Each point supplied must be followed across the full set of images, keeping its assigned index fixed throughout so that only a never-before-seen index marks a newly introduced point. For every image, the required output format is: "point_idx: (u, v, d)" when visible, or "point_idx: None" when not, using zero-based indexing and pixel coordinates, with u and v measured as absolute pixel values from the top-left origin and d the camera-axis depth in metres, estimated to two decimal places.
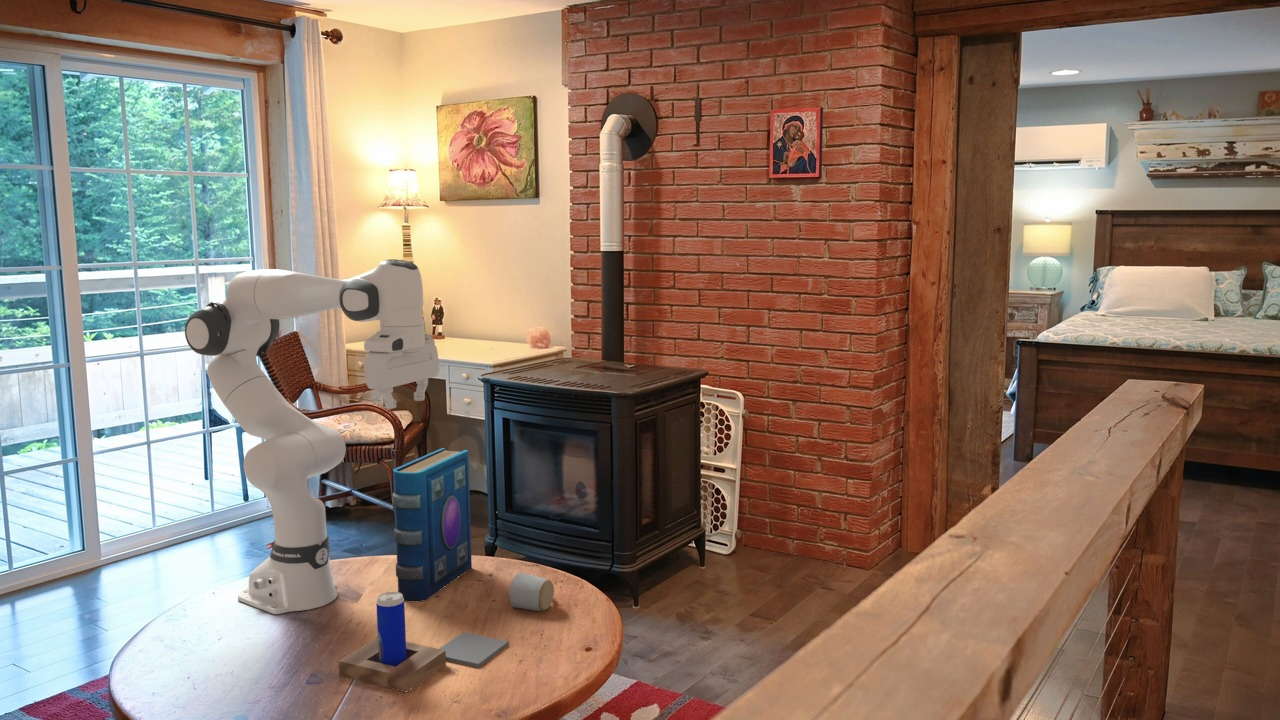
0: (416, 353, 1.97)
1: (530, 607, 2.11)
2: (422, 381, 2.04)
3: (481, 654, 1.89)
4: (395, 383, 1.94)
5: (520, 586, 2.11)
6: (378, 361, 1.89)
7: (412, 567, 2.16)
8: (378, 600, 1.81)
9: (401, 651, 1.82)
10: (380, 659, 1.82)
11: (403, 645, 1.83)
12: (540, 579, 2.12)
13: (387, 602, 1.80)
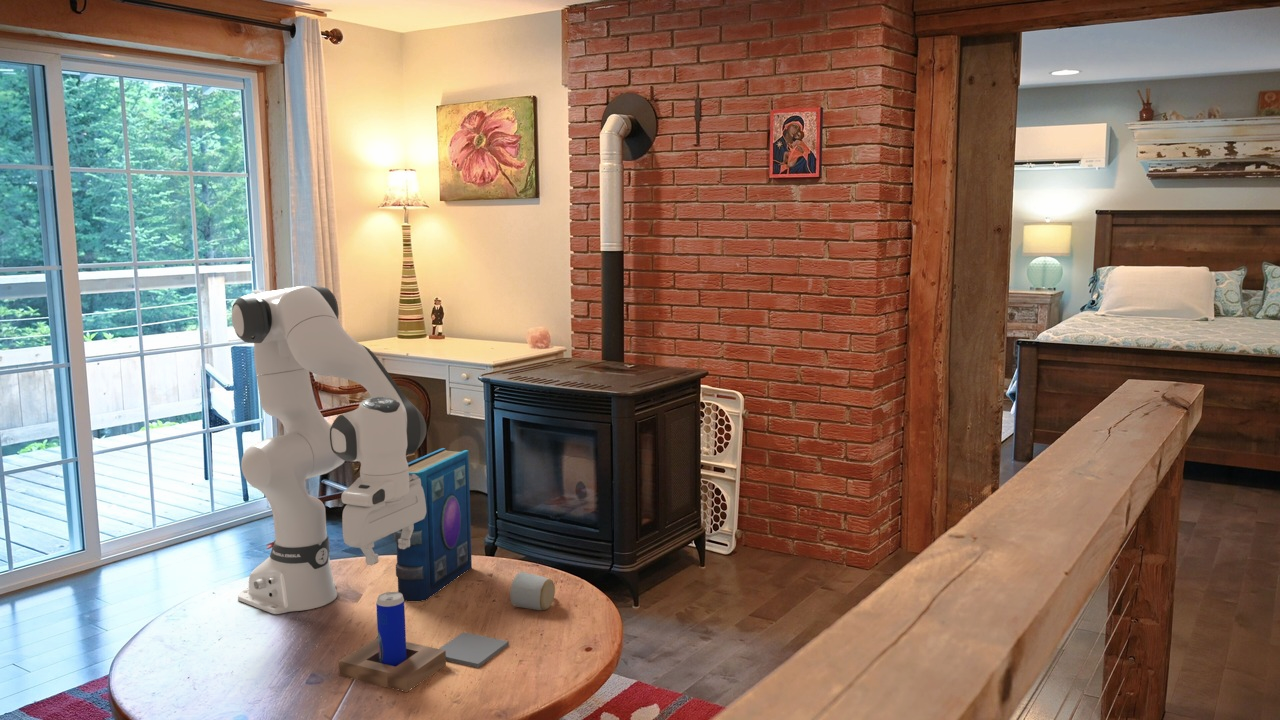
0: (400, 501, 1.79)
1: (531, 606, 2.11)
2: (407, 527, 1.85)
3: (481, 654, 1.89)
4: (376, 537, 1.75)
5: (521, 585, 2.11)
6: (357, 516, 1.71)
7: (412, 567, 2.16)
8: (378, 600, 1.81)
9: (401, 651, 1.82)
10: (380, 659, 1.82)
11: (403, 645, 1.83)
12: (541, 578, 2.12)
13: (387, 602, 1.80)
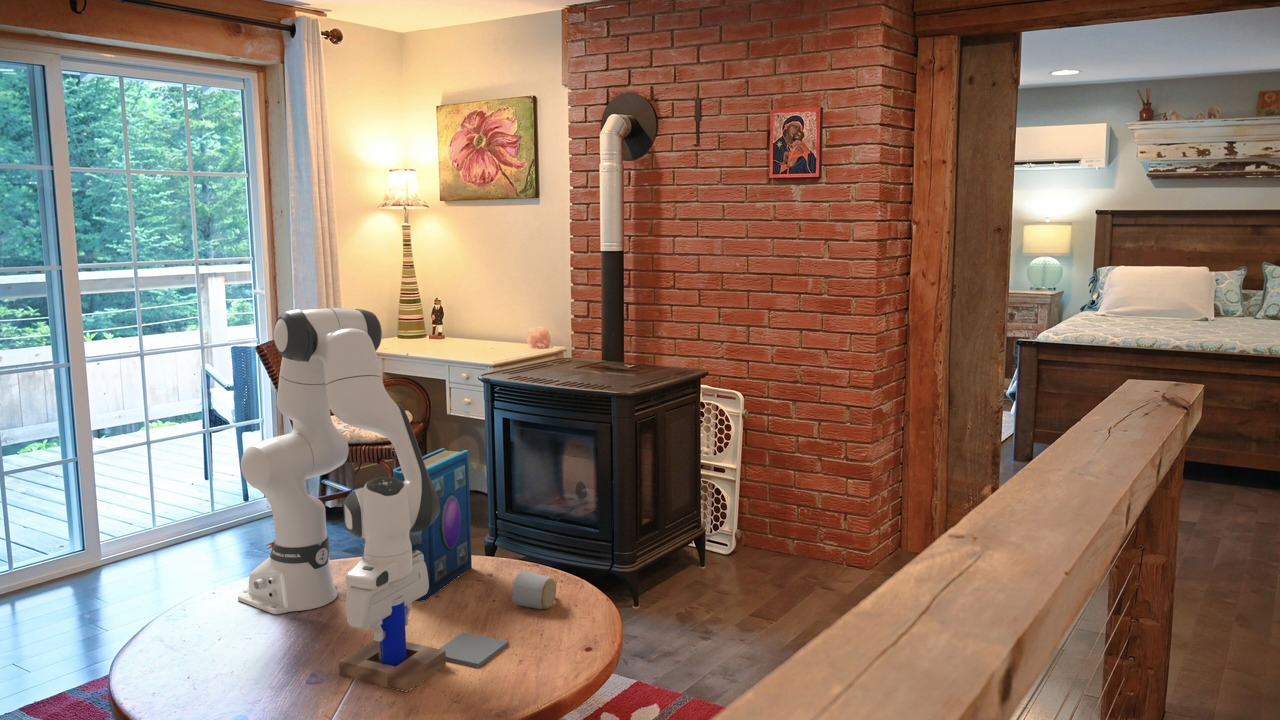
0: (403, 580, 1.81)
1: (533, 605, 2.12)
2: (405, 606, 1.86)
3: (481, 654, 1.89)
4: (380, 618, 1.77)
5: (523, 584, 2.12)
6: (361, 599, 1.73)
7: None
8: None
9: (401, 651, 1.82)
10: (380, 659, 1.82)
11: (403, 645, 1.83)
12: (543, 577, 2.13)
13: None
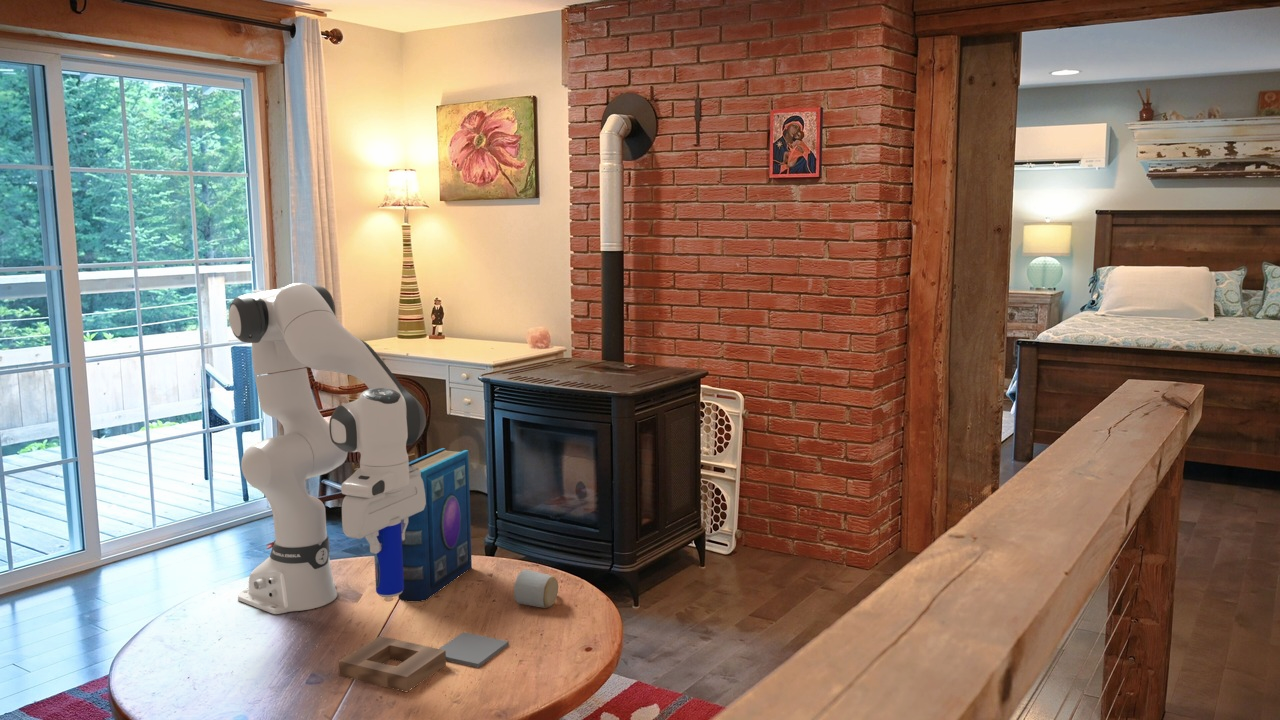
0: (399, 492, 1.78)
1: (535, 603, 2.13)
2: (402, 520, 1.84)
3: (481, 654, 1.89)
4: (376, 528, 1.75)
5: (525, 583, 2.13)
6: (357, 507, 1.71)
7: (412, 567, 2.16)
8: None
9: (398, 572, 1.80)
10: (377, 581, 1.80)
11: (400, 567, 1.81)
12: (545, 576, 2.14)
13: None
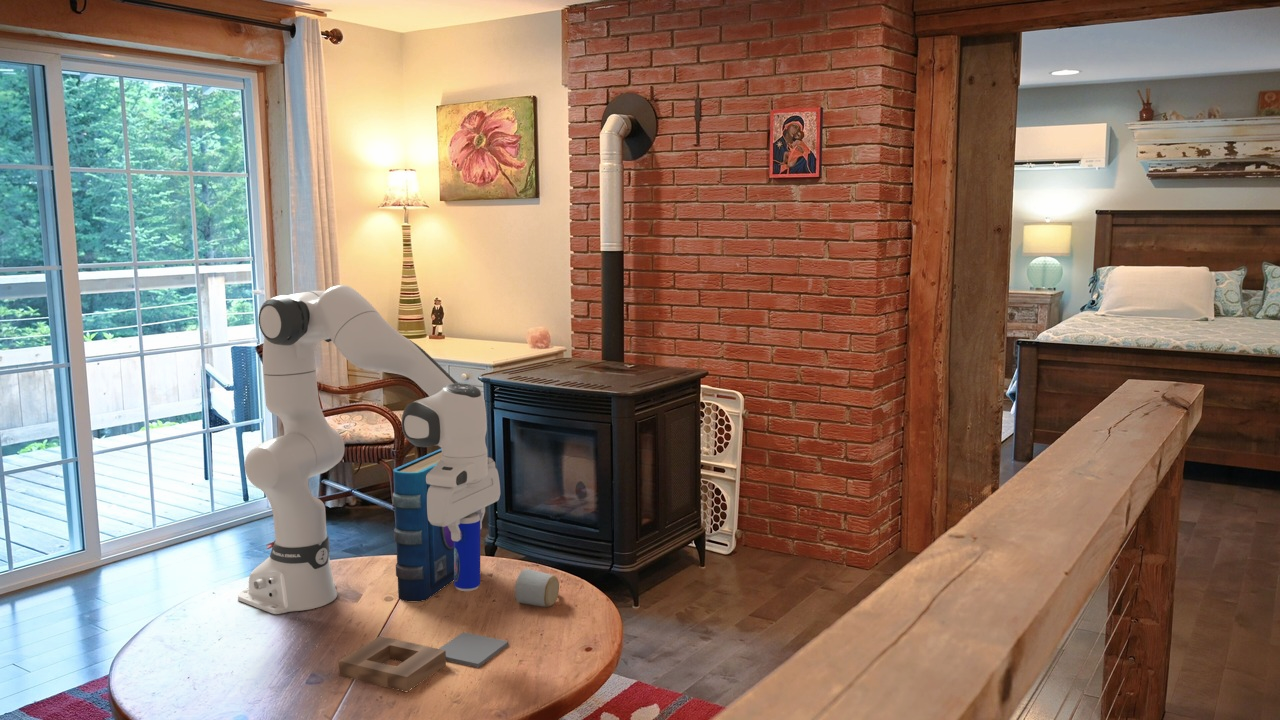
0: (479, 483, 1.87)
1: (536, 603, 2.13)
2: (479, 510, 1.92)
3: (481, 654, 1.89)
4: (458, 517, 1.83)
5: (526, 582, 2.13)
6: (442, 496, 1.79)
7: (412, 567, 2.16)
8: None
9: (476, 567, 1.89)
10: (456, 575, 1.89)
11: (478, 562, 1.89)
12: (546, 575, 2.14)
13: (466, 519, 1.86)
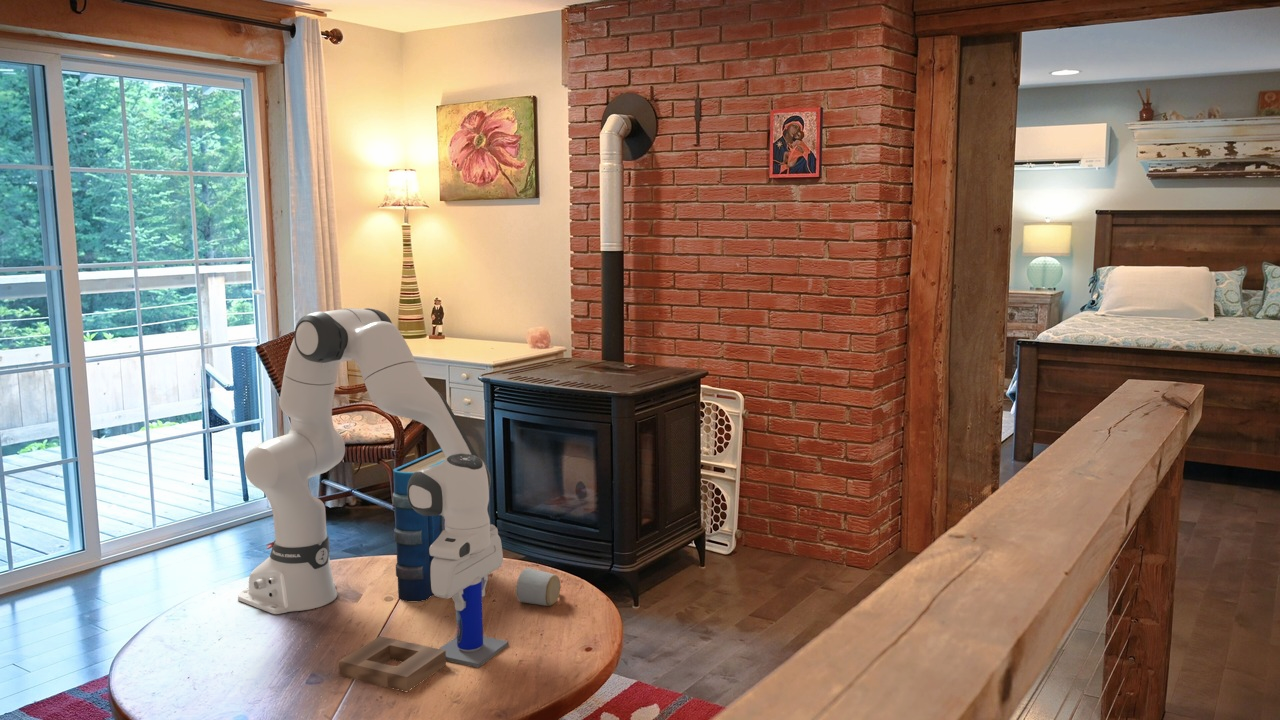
0: (482, 552, 1.89)
1: (537, 602, 2.14)
2: (482, 577, 1.94)
3: (481, 654, 1.89)
4: (461, 587, 1.85)
5: (527, 581, 2.14)
6: (445, 569, 1.81)
7: (412, 567, 2.16)
8: None
9: (479, 628, 1.91)
10: (459, 636, 1.90)
11: (481, 623, 1.91)
12: (547, 574, 2.15)
13: None
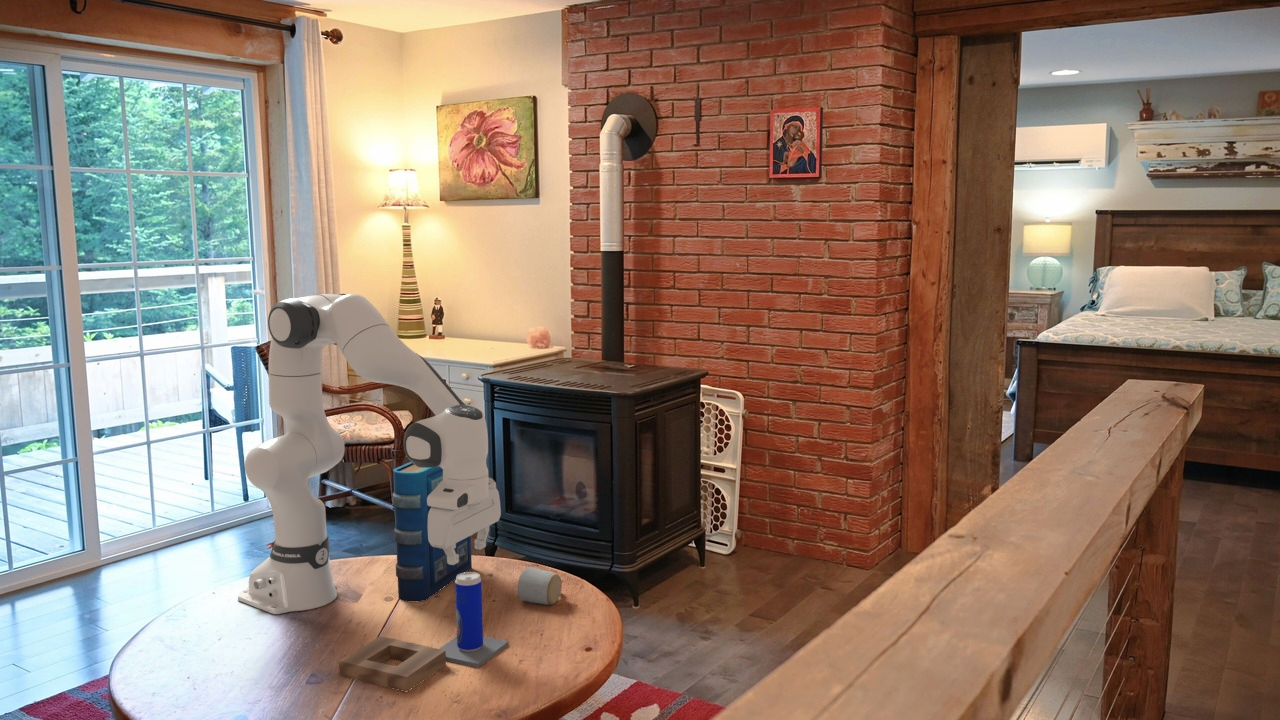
0: (480, 504, 1.87)
1: (538, 601, 2.14)
2: (483, 528, 1.94)
3: (481, 654, 1.89)
4: (458, 539, 1.84)
5: (528, 580, 2.14)
6: (442, 519, 1.79)
7: (412, 567, 2.16)
8: (457, 580, 1.89)
9: (479, 628, 1.91)
10: (459, 636, 1.90)
11: (481, 623, 1.91)
12: (548, 573, 2.15)
13: (467, 581, 1.88)
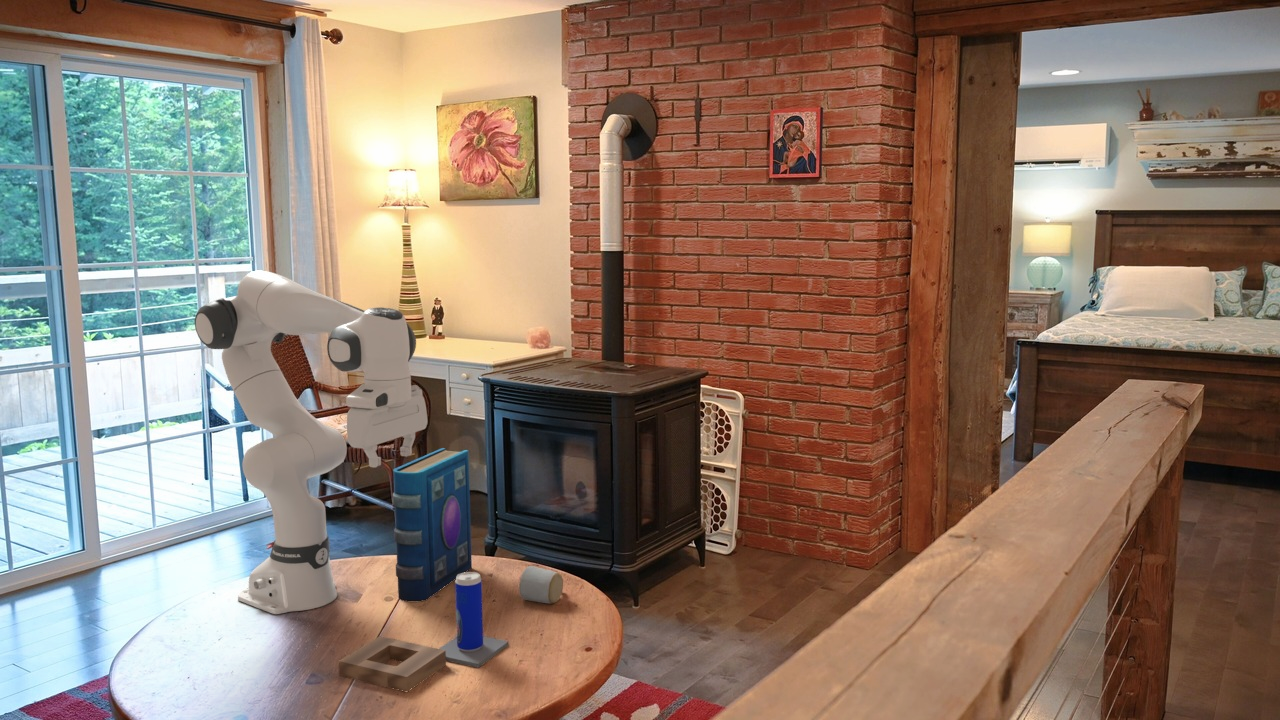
0: (402, 407, 1.86)
1: (540, 599, 2.15)
2: (409, 435, 1.92)
3: (481, 654, 1.89)
4: (379, 440, 1.82)
5: (530, 579, 2.15)
6: (361, 418, 1.78)
7: (412, 567, 2.16)
8: (457, 580, 1.89)
9: (479, 628, 1.91)
10: (459, 636, 1.90)
11: (481, 623, 1.91)
12: (550, 572, 2.16)
13: (467, 581, 1.88)
